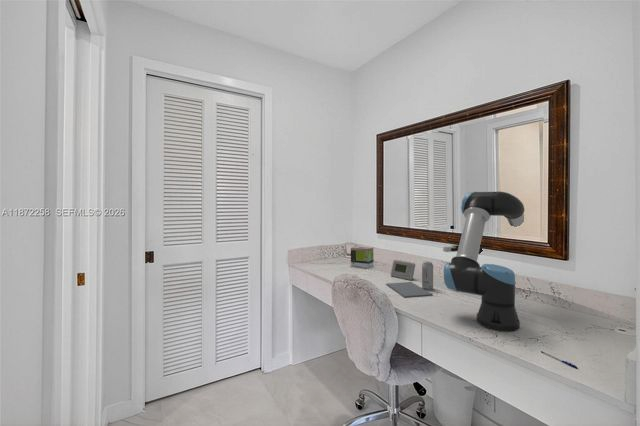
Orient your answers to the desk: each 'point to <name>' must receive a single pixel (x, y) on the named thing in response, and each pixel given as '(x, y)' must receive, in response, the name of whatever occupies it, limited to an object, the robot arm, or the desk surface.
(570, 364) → the screwdriver
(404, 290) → the rubber mat
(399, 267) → the digital clock
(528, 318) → the desk surface
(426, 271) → the energy drink can
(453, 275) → the robot arm
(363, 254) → the tea box
